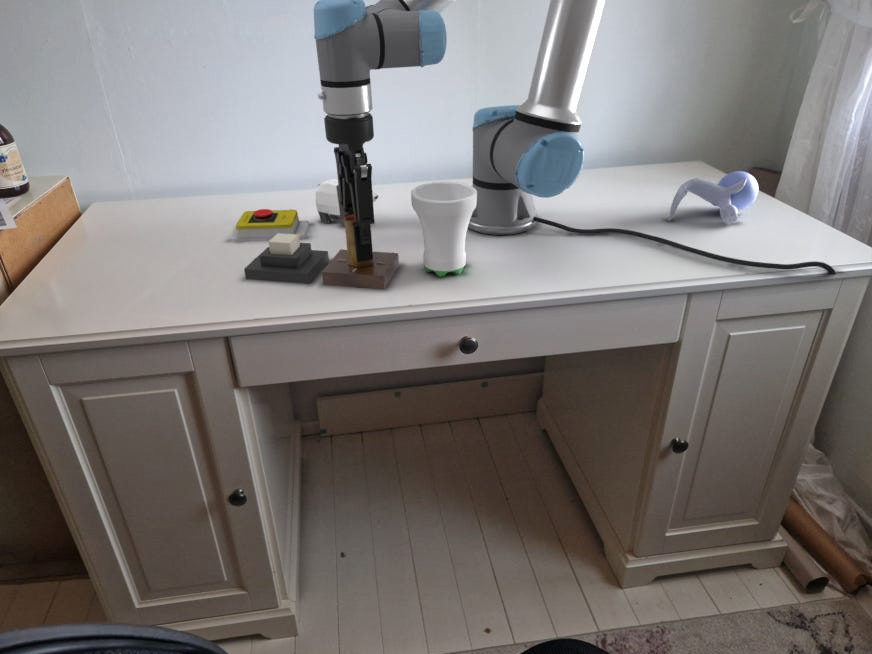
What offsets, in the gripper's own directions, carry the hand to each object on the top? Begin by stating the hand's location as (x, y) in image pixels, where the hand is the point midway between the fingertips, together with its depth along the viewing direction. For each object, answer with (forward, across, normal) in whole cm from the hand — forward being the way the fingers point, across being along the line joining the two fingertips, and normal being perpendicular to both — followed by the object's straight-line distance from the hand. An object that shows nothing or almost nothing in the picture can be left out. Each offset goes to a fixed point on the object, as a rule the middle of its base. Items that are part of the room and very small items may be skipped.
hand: (360, 254), depth 109 cm
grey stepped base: (+4, -8, -12) cm, 15 cm away
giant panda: (+4, -27, +5) cm, 28 cm away
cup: (+4, +4, +14) cm, 15 cm away
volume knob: (+1, 0, 0) cm, 1 cm away
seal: (+4, +3, +76) cm, 76 cm away
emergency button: (+4, -28, -11) cm, 31 cm away
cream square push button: (0, -8, -12) cm, 14 cm away
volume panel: (+4, 0, 0) cm, 4 cm away
